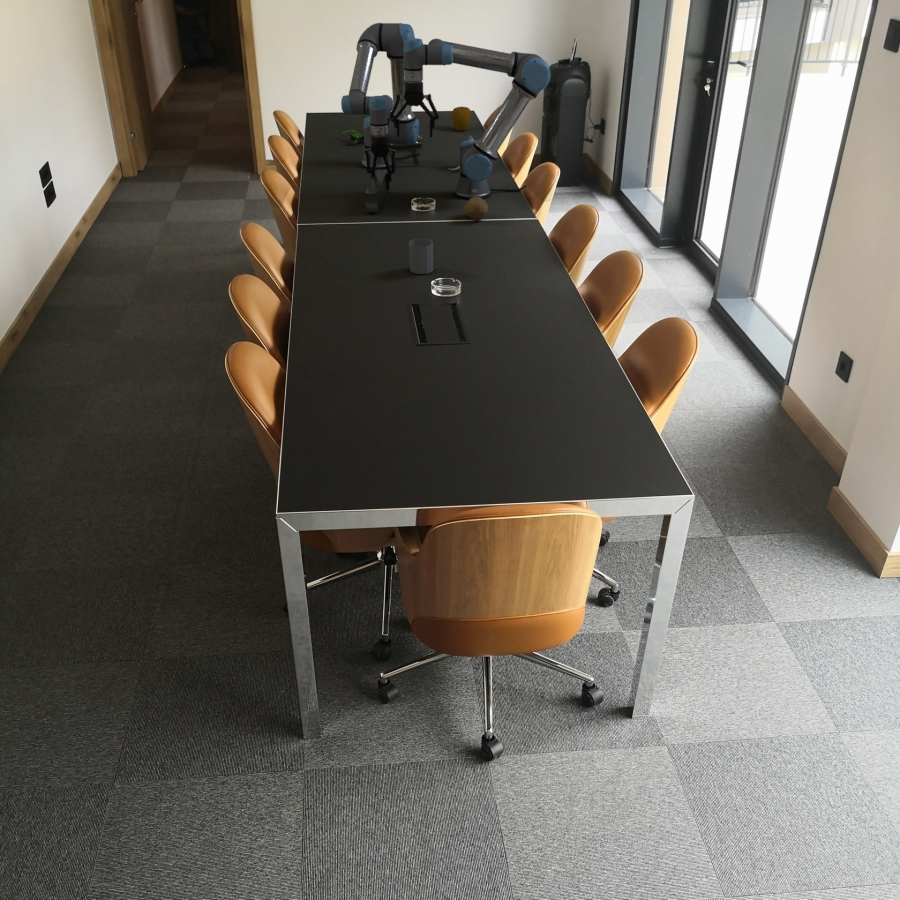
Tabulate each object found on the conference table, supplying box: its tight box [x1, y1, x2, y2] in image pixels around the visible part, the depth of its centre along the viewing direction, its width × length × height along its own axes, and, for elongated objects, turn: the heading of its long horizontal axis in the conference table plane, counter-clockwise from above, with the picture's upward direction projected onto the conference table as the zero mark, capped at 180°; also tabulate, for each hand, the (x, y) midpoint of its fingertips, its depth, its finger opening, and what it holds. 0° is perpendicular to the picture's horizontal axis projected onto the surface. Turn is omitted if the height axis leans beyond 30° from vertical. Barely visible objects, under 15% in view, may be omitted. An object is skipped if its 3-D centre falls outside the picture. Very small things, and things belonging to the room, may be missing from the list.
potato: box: [464, 197, 489, 220], centre depth 355 cm, size 10×14×8 cm
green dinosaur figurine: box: [340, 129, 364, 146], centre depth 465 cm, size 6×13×30 cm
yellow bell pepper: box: [451, 105, 472, 132], centre depth 487 cm, size 11×11×13 cm
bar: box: [364, 169, 388, 213], centre depth 373 cm, size 34×5×8 cm, turn 176°
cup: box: [408, 237, 434, 275], centre depth 305 cm, size 8×8×10 cm
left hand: (382, 188), depth 385 cm, fingers closed on bar, 5 cm apart
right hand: (414, 136), depth 358 cm, fingers open, 13 cm apart
